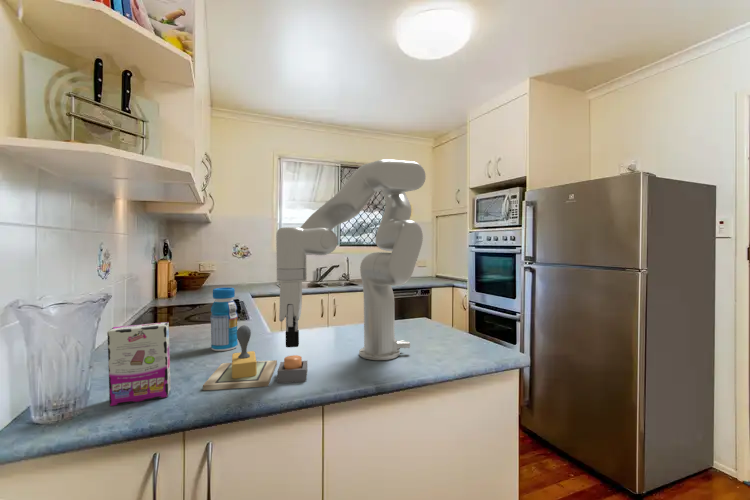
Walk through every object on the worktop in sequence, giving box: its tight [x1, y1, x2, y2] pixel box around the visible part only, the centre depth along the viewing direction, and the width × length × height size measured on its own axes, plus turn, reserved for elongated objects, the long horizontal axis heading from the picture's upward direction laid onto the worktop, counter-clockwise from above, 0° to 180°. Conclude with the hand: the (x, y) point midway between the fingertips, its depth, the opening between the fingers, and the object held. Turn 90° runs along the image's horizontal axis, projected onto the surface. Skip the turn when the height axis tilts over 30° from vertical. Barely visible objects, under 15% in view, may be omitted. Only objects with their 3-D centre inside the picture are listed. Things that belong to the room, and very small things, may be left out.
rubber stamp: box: [231, 324, 257, 379], centre depth 93 cm, size 10×6×12 cm, turn 21°
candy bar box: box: [106, 321, 172, 407], centre depth 80 cm, size 11×5×16 cm, turn 114°
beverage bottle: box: [209, 287, 239, 352], centre depth 119 cm, size 8×8×20 cm
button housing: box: [276, 360, 308, 384], centre depth 92 cm, size 7×7×3 cm
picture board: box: [202, 359, 278, 391], centre depth 93 cm, size 15×16×1 cm
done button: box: [283, 354, 303, 369], centre depth 92 cm, size 4×4×4 cm
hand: (292, 346), depth 92 cm, fingers closed
